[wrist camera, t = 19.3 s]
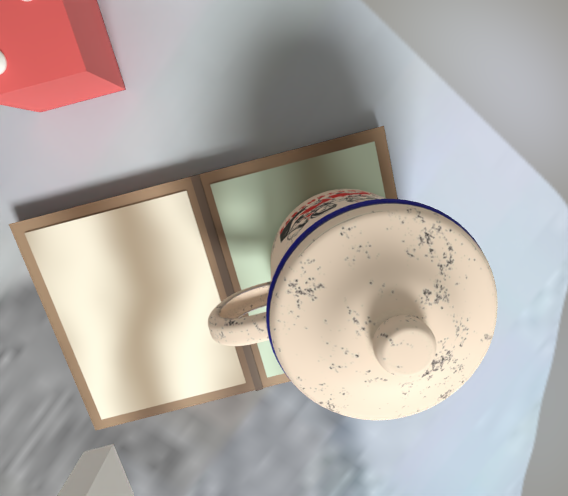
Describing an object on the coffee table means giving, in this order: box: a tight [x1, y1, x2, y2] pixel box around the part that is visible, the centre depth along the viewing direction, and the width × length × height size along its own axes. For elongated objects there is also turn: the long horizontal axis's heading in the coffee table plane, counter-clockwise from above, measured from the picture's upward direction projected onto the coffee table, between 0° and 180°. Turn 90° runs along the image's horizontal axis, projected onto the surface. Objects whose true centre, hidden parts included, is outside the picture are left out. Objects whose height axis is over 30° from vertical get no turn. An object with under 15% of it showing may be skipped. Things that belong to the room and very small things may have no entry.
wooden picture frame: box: [9, 126, 398, 430], centre depth 25 cm, size 22×14×1 cm, turn 104°
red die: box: [0, 0, 126, 112], centre depth 19 cm, size 5×5×5 cm
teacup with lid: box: [208, 189, 497, 420], centre depth 18 cm, size 12×9×12 cm
